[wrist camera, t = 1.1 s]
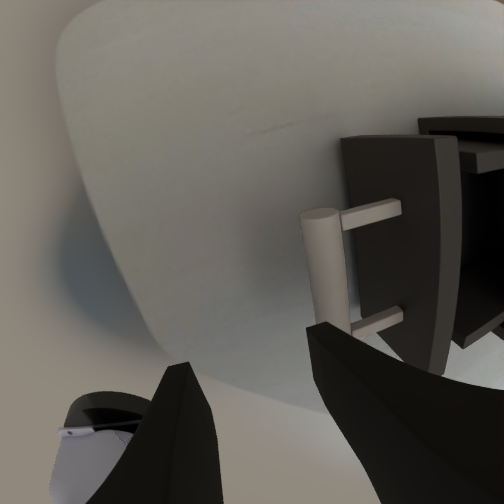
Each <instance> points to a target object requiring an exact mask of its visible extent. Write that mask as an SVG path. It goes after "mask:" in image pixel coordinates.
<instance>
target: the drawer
mask: <svg viewBox="0 0 504 504" xmlns="http://www.w3.org/2000/svg"><path fill="white" fill-rule="evenodd" d="M340 140H341V146H342V151H343V157H344V163H345V169H346V175H347V181H348V188H349V195H350V202H351V209H347V210H343V211H338V210H337V209H335V208H317V209H312V210H309V211H306V212H304V213H302V214H301V215H300V217H299V219H300V224H301V230H302V236H303V241H304V247H305V253H306V259H307V265H308V271H309V278H310V284H311V291H312V297H313V304H314V311H315V318H316V324H319V323H322V322H325V321H327V322H329V323H331V324H332V325H334V326H336V327H338V328H339V329H341V330H343V331H344V332H346V333H348V334H350V335H351V336H353V337H355V338H357V339H358V340H359V339H361V338H364V337H366V336H369V335H371V334H374V333H377V334H378V335H379V336H380V337H381V338H382V339H383V340H384V341H385V342H386V343H387V344H388V345H389V346H390V348H391V349H392V350H393V351H394V352H395V353H396V354H397V355H398V356H399V357H400V358H401V359H402V360H403V361H404V362H405V363H407V364H409V365H411V366H414V367H416V368H418V369H421V370H424V371H426V372H429V373H432V374H435V375H438V376H442V375H443V374H444V372H445V367H446V363H447V358H448V353H449V348H450V343H451V340H452V341H454V342H455V343H456V344H457V345H458V346H460V347H461V348H462V349H465V348H466V347H468V346H469V345H471V344H472V343H474V342H475V341H477V340H478V339H480V338H481V337H483V336H484V335H486V334H487V333H489V332H490V331H491V330H493V329H494V328H496V327H497V326H498V325H500V324H501V323H502V322H504V136H503V135H491V134H488V135H475V136H463V137H456V136H445V135H360V136H353V137H346V138H341V139H340ZM352 228H354V234H355V244H356V254H357V265H358V277H359V291H360V308H361V317H362V318H363V319H362V320H359V321H356V322H354V323H351V324H350V311H349V298H348V287H347V276H346V266H345V257H344V248H343V240H342V232H341V230H343V231H345V230H349V229H352Z"/></svg>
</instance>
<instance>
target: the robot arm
mask: <svg viewBox="0 0 504 504" xmlns="http://www.w3.org/2000/svg"><path fill="white" fill-rule="evenodd" d="M306 332H307V339H308V345H309V352H310V358H311V365H312V372H313V379H314V381H315V384H316V386H317V388H318V390H319V393H320V395H321V397H322V399H323V401H324V404H325V406H326V408H327V409H328V411H329V413H330V414H331V416H332V417H333V419H334V421H335V422H336V424H337V425H338V427H339V429H340V430H341V432H342V433H343V435H344V437H345V438H346V440H347V441H348V443H349V445H350V446H351V448H352V449H353V451H354V452H355V454H356V456H357V457H358V459H359V460H360V462H361V464H362V465H363V467H364V469H365V471H366V472H367V475H368V477H369V479H370V481H371V483H372V485H373V487H374V489H375V491H376V493H377V495H378V498H379V500H380V502H381V504H504V390H498V389H492V388H486V387H481V386H476V385H471V384H467V383H462V382H458V381H455V380H451V379H448V378H445V377H442V376H438V375H435V374H432V373H429V372H426V371H424V370H421V369H418V368H416V367H414V366H411V365H409V364H407V363H404V362H402V361H399V360H397V359H395V358H393V357H391V356H389V355H387V354H385V353H383V352H381V351H379V350H377V349H375V348H373V347H371V346H369V345H367V344H366V343H364V342H362V341H360V340H358V339H357V338H355V337H353V336H351V335H350V334H348V333H346V332H344V331H343V330H341V329H339V328H338V327H336V326H334V325H332V324H331V323H329V322H327V321H325V322H322V323H319V324H316V325H313V326H310V327H307V328H306ZM58 433H59V435H60V436H61V437H62V439H61V442H60V446H59V449H58V453H57V457H56V461H55V464H54V468H53V472H52V476H51V480H50V495H51V499H52V502H53V504H224V502H223V494H222V484H221V473H220V462H219V451H218V441H217V435H216V430H215V425H214V420H213V415H212V411H211V408H210V406H209V404H208V402H207V400H206V397H205V395H204V393H203V391H202V389H201V387H200V385H199V383H198V380H197V378H196V376H195V374H194V372H193V370H192V367H191V365H190V363H189V362H185V363H180V364H176V365H172V366H168V367H167V369H166V371H165V373H164V375H163V377H162V379H161V382H160V384H159V386H158V388H157V390H156V392H155V394H154V396H153V398H152V400H151V402H150V405H149V406H148V408H147V410H146V412H145V414H144V416H143V418H142V420H133V421H126V422H118V423H110V424H101V425H90V426H78V427H61V428H58Z"/></svg>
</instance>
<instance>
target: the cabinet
mask: <svg viewBox="0 0 504 504" xmlns="http://www.w3.org/2000/svg"><path fill="white" fill-rule="evenodd" d="M418 122H419V128H420V135H445V136H456V137H463V136H475V135H488V134H491V135H503V136H504V116H452V117H429V118H418ZM491 332H493V333H494V334H495V335H497V336H498V337H499V338H501V339H502V340H504V322H502V323H501V324H500V325H498V326H497V327H496V328H494V329H493V330H491Z"/></svg>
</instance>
